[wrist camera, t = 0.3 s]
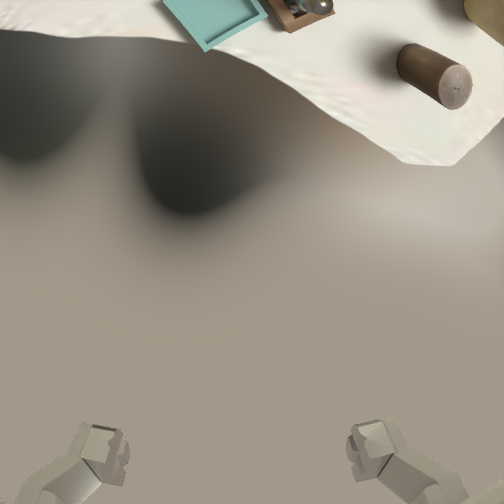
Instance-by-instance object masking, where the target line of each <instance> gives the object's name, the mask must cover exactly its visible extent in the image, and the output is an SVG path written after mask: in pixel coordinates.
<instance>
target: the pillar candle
mask: <svg viewBox="0 0 504 504" xmlns="http://www.w3.org/2000/svg"><path fill="white" fill-rule="evenodd" d="M397 69H398V73H399V75H400V77H402V78H403V79H404V80H405V81H406V82H407V83H409V84H411V85H413V86H414V87H416V88H417V89H419V90H420V91H422V92H423V93H425V94H427V95H428V96H430V97H431V98H433V99H434V100H436V101H437V102H438V103H440V104H441V105H443V106H444V107H446V108H447V109H450V110H455V109H458V108H460V107H462V106H463V105H464V104H465V103H466V102H467V100H468V99H469V98H470V95H471V93H472V85H473V84H472V77H471V74H470V72H469V70H468V69H467V68H466V67H465V66H464V65H460V64H459V63H457V62H455V61H453V60H451V59H449V58H447V57H445V56H443V55H441V54H439V53H437V52H435V51H433V50H431V49H428V48H426V47H423V46H421V45H418V44H411V45H408V46H406V47H405V48H404V49H403V50H402V51H401V52H400V53H399V55H398V58H397Z"/></svg>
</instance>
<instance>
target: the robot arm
mask: <svg viewBox="0 0 504 504" xmlns="http://www.w3.org/2000/svg"><path fill="white" fill-rule="evenodd" d="M351 432H352V435H350V436H349V437H348V439H347V442H346V451H347V456H348V459H349V460H350V461H352V462H353V463H354V464H353V466H352V472H353V475H354V478H355V481H356V482H360V481H364V480H369V479H373V478H377V479H378V480H379V481H380V482H381V483H383V484H384V485H385V486H387V487H388V488H389V489H390V490H391V491H393V492H394V493H395V494H396V495H398V496H399V497H400V498H401V499H403V500H404V501H405V502H406V503H408V504H504V477H503V478H502V479H500V480H499V481H497V482H496V483H494V484H493V485H491V486H489V487H488V488H486V489H484V490H483V491H481V492H479V493H478V494H476V495H475V496H472V497H471V498H470V497H469V495H468V493H467V491H466V489H465V487H464V485H463V483H462V481H461V479H460V477H459V475H458V473H456V472H454V471H453V470H451V469H449V468H447V467H445V466H444V465H441V464H440V463H438V462H436V461H435V460H433V459H431V458H430V457H428V456H426V455H424V454H423V453H421V452H419V451H418V450H416V449H414V448H409V446H408V444H407V442H406V440H405V438H404V436H403V434H402V432H401V430H400V428H399V426H398V424H397V422H396V420H395V419H394V418H393V417H388V418H384V419H380V420H379V419H378V420H374V421H369V422H366V423H360V424H355V425H354V426H352V429H351ZM122 436H123V433H122V432H121V430H120V429H116V428H110V427H104V426H99V425H95V424H90V423H85V422H82V423H81V424H80V425H79V426H78V428H77V431H76V433H75V435H74V438H73V440H72V443H71V445H70V448H69V450H68V453H67V454H62V455H61V456H59V457H58V458H56V459H55V460H53V461H52V462H50V463H49V464H48V465H46V466H45V467H43V468H42V469H40V470H39V471H37V472H35V473H34V474H33V475H31V476H29V477H28V478H27V479H25V480H24V481H23V483H22V486H21V488H20V490H19V493H18V495H17V498H16V501H15V503H14V504H81V503H82V502H83V501H84V500H85V499H87V498H88V497H89V496H90V495H91V494H92V493H93V492H94V491H95V490H96V489H97V488H98V487H99V486H100V485H101V484H102V483H107V484H112V485H118V486H123V482H124V478H125V474H126V472H125V470H124V468H123V467H124V466H125V465H126V464H128V461H129V452H130V450H129V445H128V443H127V441H126V440H124V439H123V438H122ZM101 482H102V483H101ZM0 504H9V503H8V502H6V501H4V500H2V499H0Z"/></svg>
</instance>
